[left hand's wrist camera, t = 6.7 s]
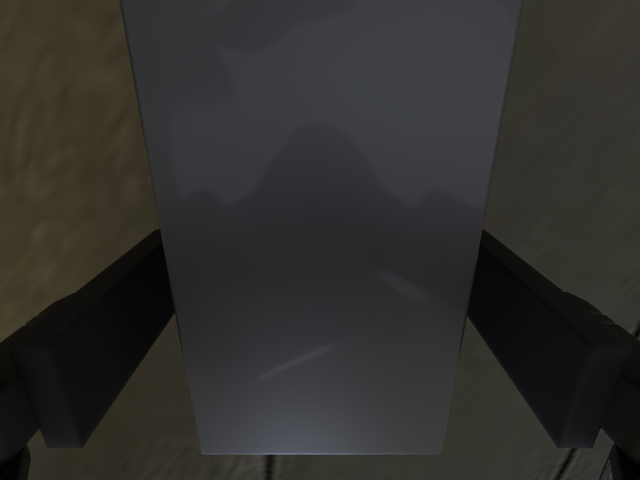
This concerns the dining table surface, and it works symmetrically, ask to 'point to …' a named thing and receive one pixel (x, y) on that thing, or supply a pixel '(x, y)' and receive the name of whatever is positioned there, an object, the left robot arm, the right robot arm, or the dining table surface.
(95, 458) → the dining table surface
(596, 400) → the left robot arm
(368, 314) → the cabinet
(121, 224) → the dining table surface
